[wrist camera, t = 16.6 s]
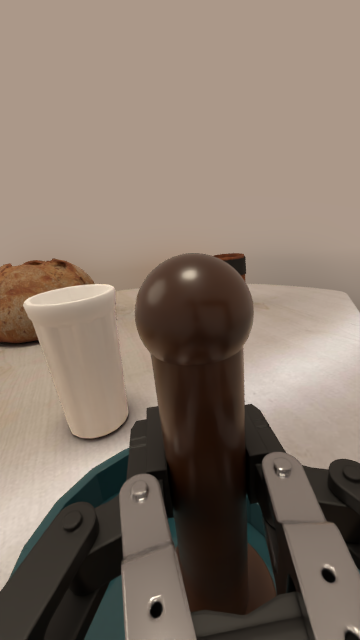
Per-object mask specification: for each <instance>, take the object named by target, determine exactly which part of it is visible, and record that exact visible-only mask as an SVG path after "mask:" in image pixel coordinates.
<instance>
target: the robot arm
mask: <svg viewBox="0 0 360 640" xmlns="http://www.w3.org/2000/svg"><path fill="white" fill-rule="evenodd" d="M129 448H130V449H129V457H128V468H127V479H126V482H125V483H124V484H123V486H122V487H121V490H120V493H119V494H118V495H117V496H116V497H114V498H113V499H112V500H110V501H108V502H106V503H104V504H102V505H100V506H98V507H96V508H94V507H93V506H92V505H91V504H90V503H88V502H76V503H73V504H71V505H69V506H67V507H65V508H64V509H63V510H61V511H60V512H59V513H58V515H57V516H56V517H55V518H54V520H53V521H52V522H51V524H50V525H49V526H48V528H47V529H46V530H45V532H44V533H43V535H42V536H41V537H40V539H39V540H38V541H37V543H36V544H35V545H34V547H33V548H32V549H31V551H30V552H29V554H28V555H27V556H26V558H25V559H24V560H23V562H22V563H21V564H20V566H19V567H18V568H17V570H16V571H15V572H14V574H13V575H12V577H11V578H10V579H9V581H8V582H7V583H6V585H5V586H4V587H3V589H2V590H1V591H0V640H84V638H85V636H86V634H87V631H88V629H89V627H90V625H91V623H92V621H93V618H94V616H95V614H96V612H97V610H98V607H99V605H100V603H101V601H102V599H103V596H104V594H105V592H106V590H107V588H108V585H109V583H110V581H111V580H113V579H115V578H116V577H118V576H120V575H122V593H123V610H124V627H125V640H360V574H359V571H358V569H359V570H360V463H358V462H355V461H352V460H348V459H338V460H335V461H333V462H332V463H331V464H330V466H329V470H327V469H319V468H311V467H306V466H303V465H301V463H300V462H299V461H298V460H297V459H296V458H295V457H293V456H291V455H289V454H287V453H286V452H285V450H284V449H283V447H282V445H281V444H280V442H279V441H278V439H277V437H276V436H275V434H274V432H273V431H272V429H271V427H269V424H268V422H267V421H266V420H265V418H264V416H263V414H262V413H261V411H260V410H259V409H258V408H256V407H255V406H253V405H252V404H248V405H245V449H246V494H247V496H248V499H249V502H250V504H254V503H259V506H260V508H261V511H262V524H263V529H264V533H265V538H266V542H267V547H268V551H269V556H270V560H271V565H272V569H273V574H274V578H275V584H276V591H277V596H276V597H274V598H273V599H271V600H270V601H268V602H266V603H265V604H263V605H262V606H260V607H258V608H257V609H255V610H254V611H252V612H250V613H249V614H247V615H238V614H231V613H224V612H218V611H211V610H200V611H195V612H190V609H189V605H188V600H187V596H186V592H185V587H184V583H183V579H182V574H181V570H180V566H179V562H178V557H177V553H176V549H175V545H174V542H173V540H172V536H171V532H170V528H169V523H168V518H173V517H174V513H173V503H172V496H171V489H170V482H169V475H168V468H167V461H166V456H165V449H164V442H163V435H162V428H161V421H160V414H159V407H158V406H156V407H149V408H147V420H140V421H136V422H135V424H134V426H133V427H132V429H131V435H130V446H129ZM357 568H358V569H357Z"/></svg>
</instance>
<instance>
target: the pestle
mask: <svg viewBox="0 0 360 640" xmlns="http://www.w3.org/2000/svg"><path fill="white" fill-rule="evenodd" d="M253 315H254V310H253V301H252V297H251V294H250V291H249V288H248V286H247V285H246V283H245V281H244V279H243V278H242V277H241V275H240V274H239V273H238V272H237V271H236V270H235V269H234V268H233V267H232V266H230V265H229V264H228V263H226V262H224V261H223V260H221V259H219V258H216V257H214V256H210V255H206V254H199V253H188V254H182V255H178V256H175V257H172V258H170V259H168V260H166V261H164V262H163V263H161V264H159V265H158V266H157V267H156V268H155V269H154V270H152V272H151V273H150V274H149V275H148V276H147V277H146V279H145V281H144V282H143V284H142V286H141V288H140V290H139V292H138V295H137V299H136V304H135V322H136V326H137V330H138V333H139V336H140V338H141V340H142V342H143V344H144V345H145V347H146V348H147V349H148V350H149V352H150V353H151V358H152V365H153V372H154V379H155V386H156V393H157V400H158V407H159V414H160V421H161V428H162V435H163V442H164V449H165V456H166V461H167V468H168V475H169V482H170V489H171V496H172V503H173V513H174V520H175V527H176V534H177V541H178V546H177V547H176V548H175V549H176V553H177V557H178V562H179V566H180V570H181V574H182V579H183V583H184V587H185V592H186V596H187V600H188V605H189V609H190V612H195V611H200V610H211V611H218V612H224V613H231V614H238V615H247V614H249V613H250V612H252V611H254V610H255V609H257V608H258V607H260V606H262V605H263V604H265V603H266V602H268V601H270V600H271V599H273V598H274V597H276V596H277V595H276V590H275V586H274V583H273V580H272V577H271V574H270V572H269V570H268V568H267V566H266V564H265V562H264V561H263V559H262V558H261V556H260V555H259V554H258V553H257V551H256V550H255V549H254V548H253V547H252V546H251V545H250V544H249V543H248V542H247V496H246V449H245V401H244V354H243V346H244V344H245V342H246V341H247V339H248V337H249V334H250V331H251V328H252V324H253Z"/></svg>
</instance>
